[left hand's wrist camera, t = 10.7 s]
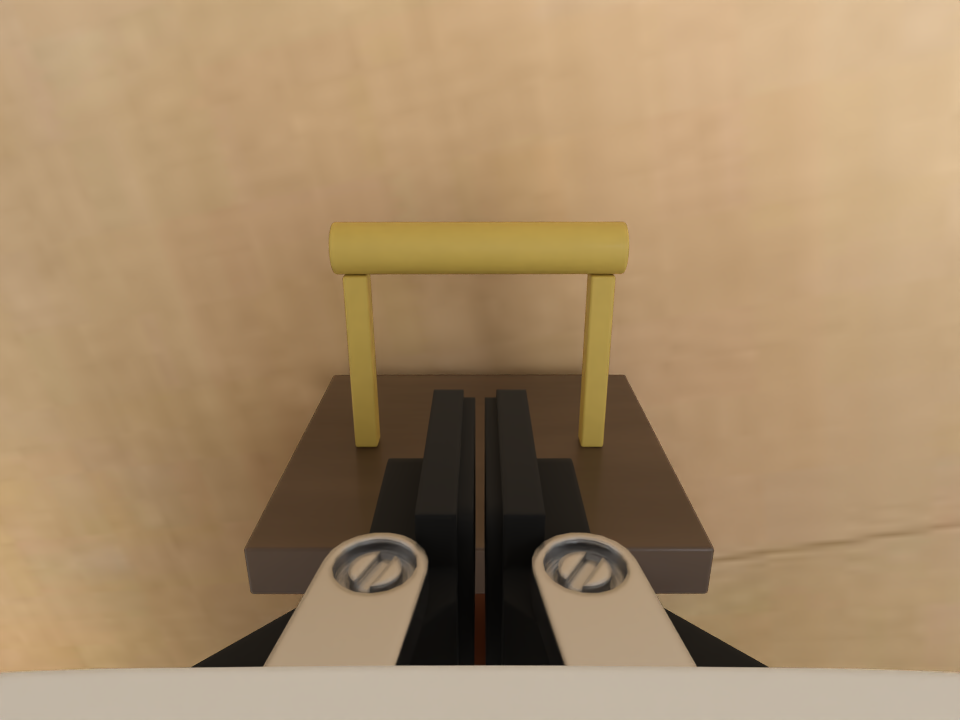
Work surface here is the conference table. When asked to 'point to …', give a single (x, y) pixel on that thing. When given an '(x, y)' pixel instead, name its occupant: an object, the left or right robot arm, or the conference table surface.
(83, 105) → the conference table surface
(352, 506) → the drawer
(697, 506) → the conference table surface
